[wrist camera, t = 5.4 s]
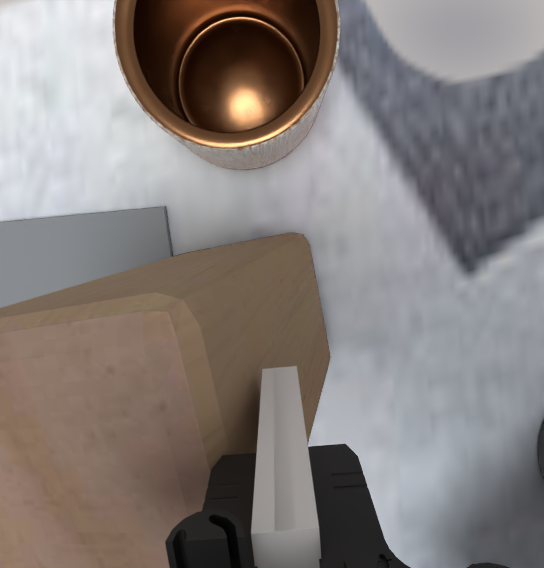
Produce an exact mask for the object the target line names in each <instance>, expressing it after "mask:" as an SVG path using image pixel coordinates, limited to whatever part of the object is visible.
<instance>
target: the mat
mask: <svg viewBox="0 0 544 568" xmlns="http://www.w3.org/2000/svg"><path fill="white" fill-rule="evenodd" d="M170 257H173V254H172V247H171V240H170V233H169V226H168V219H167V211H166V207H154V208H144V209H134V210H123V211H113V212H103V213H92V214H82V215H72V216H61V217H51V218H41V219H30V220H20V221H10V222H0V308H2V307H5V306H8V305H12V304H15V303H18V302H22V301H25V300H29V299H32V298H35V297H39V296H42V295H45V294H49V293H52V292H56V291H59V290H62V289H66V288H69V287H72V286H76V285H79V284H82V283H86V282H89V281H93V280H96V279H99V278H103V277H106V276H109V275H113V274H116V273H120V272H123V271H126V270H130V269H133V268H136V267H140V266H143V265H146V264H150V263H153V262H157V261H160V260H163V259H167V258H170Z"/></svg>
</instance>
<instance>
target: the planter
mask: <svg viewBox="0 0 544 568" xmlns="http://www.w3.org/2000/svg"><path fill="white" fill-rule="evenodd" d="M113 38H114V46H115V52H116V56H117V60H118V64H119V67H120V70H121V73H122V75H123V78H124V80H125V82H126V84H127V86H128V88H129V90H130V92H131V94H132V95H133V97H134V98H135V100H136V101H137V103H138V104H139V106H140V107H141V108H142V109H143V111H144V112H145V113H146V114H147V115H148V116H149V117H150V118H151V119H152V120H153V121H154V122H155V123H156V124H157V125H158V126H159V127H161V128H162V129H163V130H164V131H166V132H167V133H169V134H170V135H171V136H173V137H174V138H176V139H177V140H178V141H180V142H181V143H182V144H183V145H185V146H186V147H187V148H188V149H190V150H191V151H192V152H194V153H195V154H197V155H198V156H200V157H201V158H203V159H204V160H206V161H208V162H210V163H213V164H215V165H218V166H221V167H225V168H230V169H240V170H244V169H255V168H260V167H263V166H267V165H269V164H272V163H274V162H276V161H278V160H280V159H282V158H283V157H285V156H286V155H288V154H289V153H290V152H291V151H293V150H294V149H295V148H296V147H297V146H298V145H299V144H300V143H301V142H302V140H303V139H304V138H305V136H306V135H307V133H308V132H309V130H310V129H311V127H312V125H313V123H314V121H315V118H316V116H317V113H318V111H319V108H320V105H321V102H322V100H323V97H324V94H325V92H326V89H327V87H328V85H329V82H330V79H331V77H332V74H333V71H334V68H335V64H336V60H337V55H338V49H339V41H340V17H339V8H338V2H337V0H115V2H114V10H113Z"/></svg>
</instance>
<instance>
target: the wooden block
mask: <svg viewBox="0 0 544 568" xmlns="http://www.w3.org/2000/svg"><path fill="white" fill-rule="evenodd" d="M329 361H330V352H329V346H328V341H327V335H326V330H325V325H324V319H323V314H322V309H321V303H320V298H319V293H318V287H317V282H316V276H315V271H314V266H313V260H312V255H311V250H310V244H309V243H308V241H307V240H306V238H305V237H304V235H302V234H297V233H287V234H282V235H276V236H271V237H266V238H261V239H255V240H250V241H245V242H240V243H235V244H229V245H224V246H219V247H214V248H208V249H203V250H198V251H193V252H188V253H184V254H180V255H177V256H173V257H170V258H167V259H163V260H160V261H157V262H153V263H150V264H146V265H143V266H140V267H136V268H133V269H130V270H126V271H123V272H120V273H116V274H113V275H109V276H106V277H103V278H99V279H96V280H93V281H89V282H86V283H82V284H79V285H76V286H72V287H69V288H66V289H62V290H59V291H56V292H52V293H49V294H45V295H42V296H39V297H35V298H32V299H29V300H25V301H22V302H18V303H15V304H12V305H8V306H5V307H2V308H0V568H170V567H169V562H168V556H167V550H166V545H165V541H166V540H167V538H168V536H169V534H170V532H171V530H172V529H173V528H174V527H175V526H176V525H177V524H179V523H180V522H181V521H182V520H183V519H184V518H186V517H188V516H190V515H192V514H194V513H196V512H200V511H202V508H203V504H204V502H205V495H206V491H207V488H208V482H209V478H210V473H211V469H212V468H213V467H214V465H215V464H216V463H217V462H218V460H219V459H220V458H221V457H222V455H233V454H246V453H257V440H258V426H259V411H260V397H261V383H262V369H269V368H279V367H291V366H297V372H298V379H299V387H300V394H301V401H302V408H303V415H304V423H305V430H306V437H307V444H308V441H309V437H310V433H311V429H312V426H313V422H314V418H315V414H316V411H317V407H318V403H319V399H320V396H321V392H322V388H323V384H324V381H325V377H326V373H327V369H328V366H329Z"/></svg>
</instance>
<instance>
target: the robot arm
mask: <svg viewBox="0 0 544 568" xmlns="http://www.w3.org/2000/svg"><path fill="white" fill-rule="evenodd" d="M538 458H539V465H540V469H541V473H542V476H543V478H544V423H543V426H542V429H541V433H540V437H539V445H538ZM165 545H166V550H167V556H168V562H169V567H170V568H410V567H408V566H407V565H405V564H404V563H403V562H401V561H400V560H399V559H398V558H397V557H396V556H395V555H394V553H393V552H392V551H391V550H390V549H389V547H388V545H387V543H386V541H385V539H384V536H383V533H382V530H381V527H380V524H379V521H378V517H377V514H376V511H375V508H374V505H373V502H372V499H371V496H370V493H369V490H368V488H367V483H366V480H365V477H364V475H363V471H362V468H361V465H360V462H359V459H358V456H357V455H356V454H355V453H354V452H353V451H352V450H351V449H350V448H349V447H348V446H347V445H346V444H337V445H325V446H312V447H308V444H307V437H306V430H305V423H304V415H303V408H302V401H301V394H300V387H299V379H298V372H297V366H291V367H279V368H269V369H262V383H261V397H260V411H259V426H258V440H257V453H246V454H233V455H222V457H221V458H220V459H219V460H218V462H217V463H216V464H215V465H214V467H213V468H212V469H211V473H210V478H209V482H208V488H207V491H206V495H205V502H204V504H203V508H202V511H200V512H196V513H194V514H192V515H190V516H188V517H186V518H184V519H183V520H182V521H181V522H180V523H179V524H177V525H176V526H175V527H174V528H173V529H172V530H171V532H170V534H169V536H168V538H167V540H166V541H165ZM467 568H508V567H506V566H503V565H498V564H493V563H488V562H487V563H479V564H472V565H470V566H469V567H467Z"/></svg>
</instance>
